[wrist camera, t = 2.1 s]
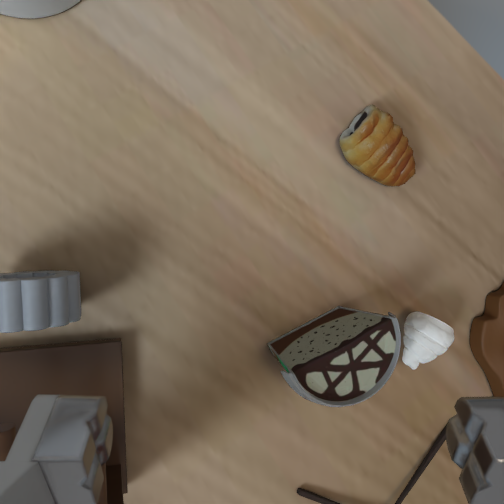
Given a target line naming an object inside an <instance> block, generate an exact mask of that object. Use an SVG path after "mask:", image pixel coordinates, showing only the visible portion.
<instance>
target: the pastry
mask: <svg viewBox="0 0 504 504" xmlns="http://www.w3.org/2000/svg"><path fill="white" fill-rule="evenodd" d="M339 142H340V146H341V149H342V151H343V154H344V156H345V158H346V160H347V161H348V162H349V163H350V164H351V165H352V166H353V167H354V168H356V169H357V170H359V171H360V172H362V173H363V174H364V175H366V176H368V177H370V178H372V179H374V180H376V181H377V182H379V183H381V184H383V185H386V186H400V185H402V184H405V183H406V182H407V181H408V180H409V179H410V178H411V177H412V176H413V175H414V174H415V161H414V158H413V150H412V148H411V147H410V146H409V145H408V138H407V137H405V136H404V135H403V132H402V129H401V128H400V126H398V125H396V124H394V123H393V117H392V116H391V115H390V114H389V113H386V112H383V111H380V110H379V109H378V108H376V107H375V106H374V105H369V106H367V107H366V108H365V110H364V111H363V112H362V113H360V114H358V115H357V116H356V117H355V118H354V120H353V122H352V123H351V125H350V127H349V128H348V129H346V130H345V131H344V132H343V133H342V135H341V136H340V141H339Z"/></svg>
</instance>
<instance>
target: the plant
mask: <svg viewBox="0 0 504 504" xmlns="http://www.w3.org/2000/svg"><path fill="white" fill-rule="evenodd" d="M470 346H471V350H472V352H473V354H474V356H475V358H476V360H477V361H478V363H479V364H480V366H481V367H482V368H483V370H484V372H485V374H486V376H487V379H488V381H489V384H490V386H491V389H492V392H493V395H494V397H504V282H503V284H502V286H501V288H500V289H499V290H497V291H495V292H492V293H489V294H488V295H487V297H486V304H485V312H484V315H483V316H481V317H477V318H474V319H473V322H472V326H471V331H470Z"/></svg>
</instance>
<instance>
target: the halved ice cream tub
mask: <svg viewBox="0 0 504 504" xmlns="http://www.w3.org/2000/svg"><path fill="white" fill-rule="evenodd" d="M388 314H389V316H386V315H381V314H376V313H371V312H366V311H361V310H356V309H351V308H346V307H341V306H338V307H336V308H334V309H332V310H330V311H328V312H326V313H325V314H323V315H321V316H319V317H317V318H315V319H313V320H311V321H309V322H307V323H305V324H304V325H302V326H300V327H298V328H296V329H294V330H292V331H290V332H288V333H286V334H284V335H282V336H281V337H279V338H277V339H275V340H273V341H271V342H269V343H267V345H268V347H269V349H270V351H271V353H272V354H273V355H274V356H275V357H276V359H277V360H278V361H279V362H280V364H281V365H282V366H283V367H284V368H285V370H286V371H287V372H285V371H281V373H282V375H283V377H284V379H285V380H286V382H287V383H288V384H289V386H290V387H291V388H292V389H293V390H294V391H295V392H296V393H298V394H299V395H300V396H302V397H304V398H305V399H307V400H310V401H312V402H314V403H318V404H321V405H325V406H329V407H343V406H350V405H354V404H357V403H360V402H362V401H364V400H366V399H368V398H370V397H371V396H373V395H374V394H375V393H377V392H378V391H379V390H380V389H381V388H382V387H383V386H384V384H385V383H386V382H387V381H388V379H389V378H390V376H391V374H392V373H393V371H394V368H395V366H396V364H397V361H398V357H399V353H400V346H401V334H400V327H399V323H398V319H397V318H396V316H395V315H393V314H392V313H390V312H388Z"/></svg>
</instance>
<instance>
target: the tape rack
mask: <svg viewBox="0 0 504 504" xmlns="http://www.w3.org/2000/svg"><path fill="white" fill-rule="evenodd" d="M37 395H84V396H106V399H107V402H108V408H107V412H106V414H107V415H109V416H110V417H111V419H112V423H113V441H112V448H111V452H110V457H109V459H108V460H107V461H106V462H105V463H104V464H103V465H102V466H101V468H102V472H103V475H104V480H103V484H102V488H101V492H100V496H99V500H98V503H97V504H124V503H123V494H124V493H127V469H126V443H125V418H124V392H123V366H122V342H121V338H115V339H104V340H92V341H81V342H69V343H58V344H47V345H35V346H24V347H12V348H1V349H0V461H5V460H6V457H7V455H8V453H9V451H10V449H11V446H12V444H13V442H14V440H15V437H16V435H17V433H18V431H19V428H20V426H21V424H22V422H23V420H24V417H25V415H26V413H27V411H28V408H29V406H30V404H31V402H32V400H33V399H34V398H35V397H36V396H37Z"/></svg>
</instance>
